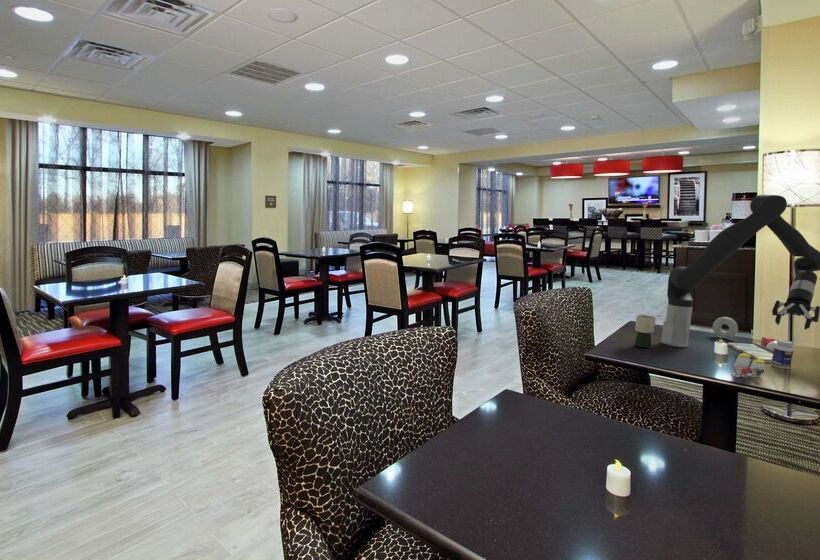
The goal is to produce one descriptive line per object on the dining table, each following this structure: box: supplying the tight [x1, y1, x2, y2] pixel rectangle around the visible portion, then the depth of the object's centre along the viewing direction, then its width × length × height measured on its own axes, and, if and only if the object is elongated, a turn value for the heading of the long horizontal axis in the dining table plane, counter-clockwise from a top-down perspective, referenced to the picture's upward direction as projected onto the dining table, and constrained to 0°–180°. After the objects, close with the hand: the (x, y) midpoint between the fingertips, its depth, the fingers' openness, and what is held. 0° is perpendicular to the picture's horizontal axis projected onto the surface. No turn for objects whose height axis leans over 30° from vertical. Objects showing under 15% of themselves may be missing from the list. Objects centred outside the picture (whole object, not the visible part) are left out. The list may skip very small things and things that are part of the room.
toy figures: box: [730, 353, 766, 378], centre depth 167 cm, size 12×4×8 cm, turn 97°
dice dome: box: [753, 336, 777, 354], centre depth 201 cm, size 12×7×6 cm, turn 174°
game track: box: [727, 342, 773, 364], centre depth 196 cm, size 23×10×1 cm, turn 174°
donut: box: [712, 316, 739, 340], centre depth 218 cm, size 10×4×10 cm, turn 39°
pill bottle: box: [770, 339, 794, 370], centre depth 180 cm, size 6×6×10 cm
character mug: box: [634, 314, 656, 349], centre depth 198 cm, size 11×7×13 cm, turn 1°
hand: (791, 325), depth 186 cm, fingers open, 8 cm apart
